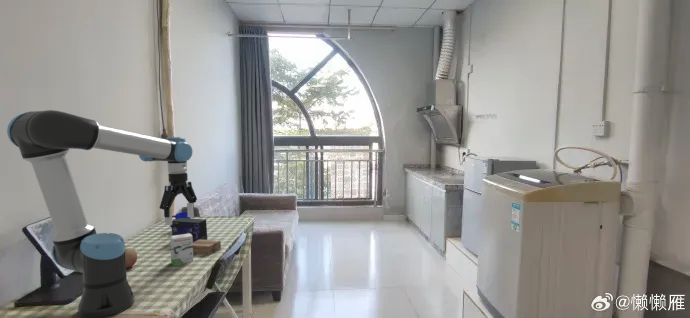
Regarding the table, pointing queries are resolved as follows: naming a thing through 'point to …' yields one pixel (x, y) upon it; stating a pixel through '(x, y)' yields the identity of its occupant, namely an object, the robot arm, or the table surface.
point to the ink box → (181, 249)
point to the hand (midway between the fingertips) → (180, 220)
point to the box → (190, 228)
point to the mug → (181, 216)
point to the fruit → (130, 257)
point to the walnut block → (206, 246)
